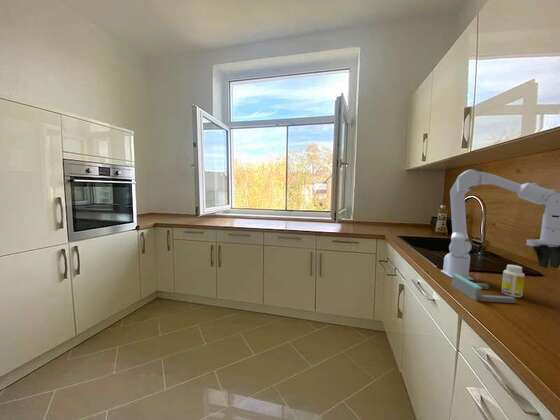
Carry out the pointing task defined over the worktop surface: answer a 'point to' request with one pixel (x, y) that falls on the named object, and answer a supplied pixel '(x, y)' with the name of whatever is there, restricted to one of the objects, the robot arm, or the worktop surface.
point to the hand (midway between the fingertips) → (548, 267)
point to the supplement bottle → (513, 281)
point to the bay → (477, 290)
